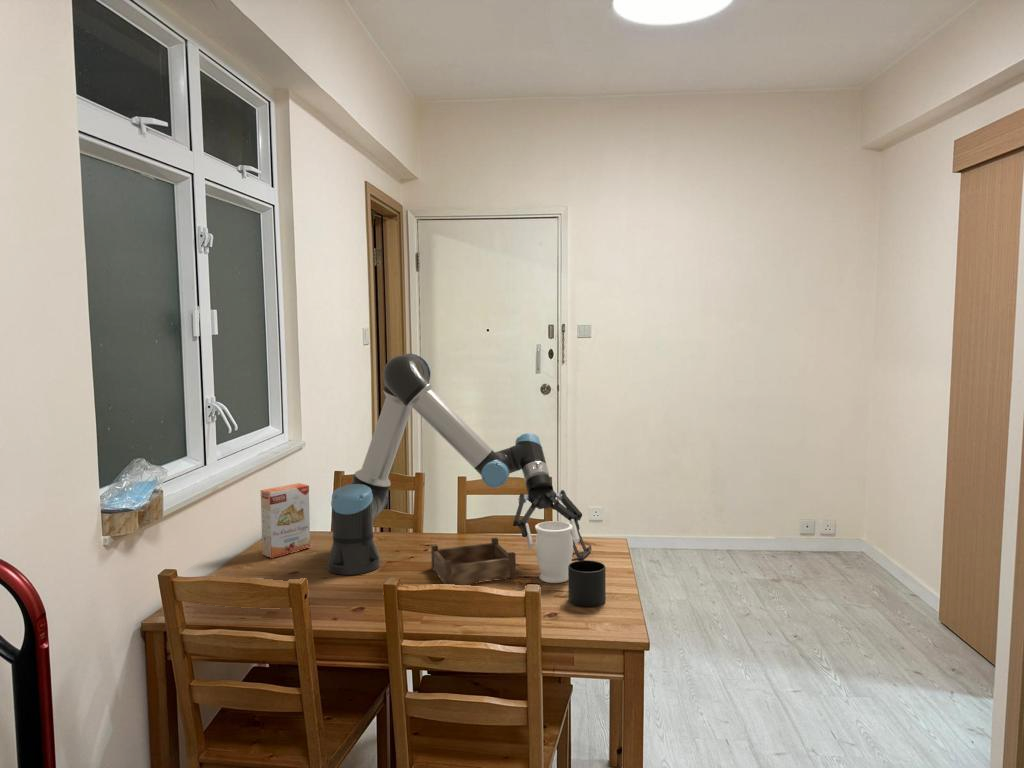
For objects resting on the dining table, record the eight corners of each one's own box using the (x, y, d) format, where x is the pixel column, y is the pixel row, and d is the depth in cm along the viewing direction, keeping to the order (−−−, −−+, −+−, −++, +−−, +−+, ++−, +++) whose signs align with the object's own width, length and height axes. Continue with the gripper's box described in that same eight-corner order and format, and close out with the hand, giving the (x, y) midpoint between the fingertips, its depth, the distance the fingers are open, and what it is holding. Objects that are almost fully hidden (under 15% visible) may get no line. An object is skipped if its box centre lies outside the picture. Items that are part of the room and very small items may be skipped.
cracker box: (272, 560, 222) (269, 492, 220) (261, 556, 226) (259, 489, 224) (311, 548, 232) (309, 484, 231) (301, 545, 236) (298, 482, 235)
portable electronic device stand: (582, 560, 217) (582, 533, 217) (558, 557, 220) (557, 530, 220) (591, 552, 225) (591, 525, 225) (567, 549, 228) (567, 523, 228)
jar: (561, 587, 195) (561, 532, 194) (528, 581, 200) (528, 527, 199) (579, 576, 204) (579, 523, 203) (547, 569, 209) (547, 518, 208)
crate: (446, 587, 196) (445, 562, 196) (431, 568, 212) (431, 545, 211) (515, 578, 203) (515, 553, 202) (496, 560, 219) (496, 537, 218)
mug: (607, 591, 192) (607, 558, 191) (604, 608, 180) (604, 573, 179) (571, 589, 194) (571, 556, 193) (566, 606, 182) (566, 571, 181)
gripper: (498, 475, 209) (513, 541, 196) (580, 469, 216) (599, 533, 202) (494, 490, 215) (508, 554, 202) (574, 483, 221) (592, 546, 208)
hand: (554, 544), depth 202 cm, fingers open, 13 cm apart
